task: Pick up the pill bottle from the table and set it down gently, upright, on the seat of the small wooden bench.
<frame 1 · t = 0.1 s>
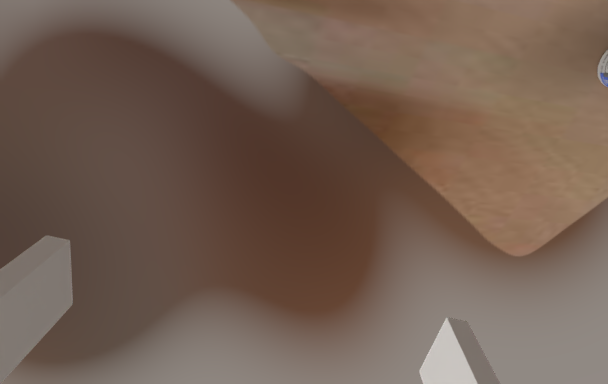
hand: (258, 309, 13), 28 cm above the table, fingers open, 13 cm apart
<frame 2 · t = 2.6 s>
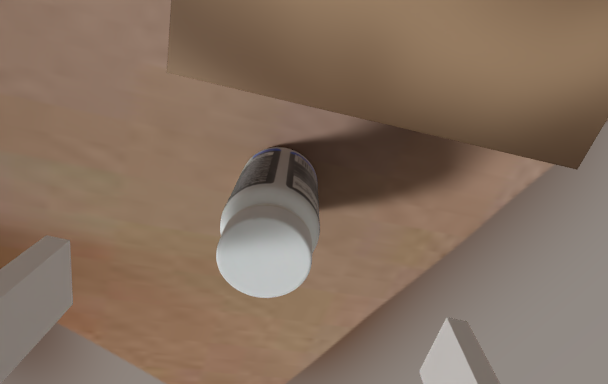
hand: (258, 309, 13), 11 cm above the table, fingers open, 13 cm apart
pill bottle: (280, 180, 22), on the table
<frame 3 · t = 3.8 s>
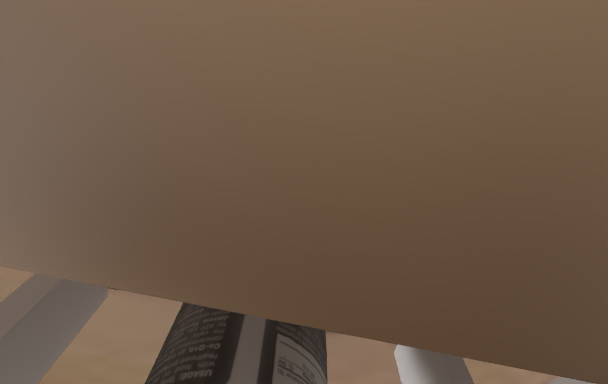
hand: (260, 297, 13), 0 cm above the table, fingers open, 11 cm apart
pill bottle: (261, 287, 13), on the table
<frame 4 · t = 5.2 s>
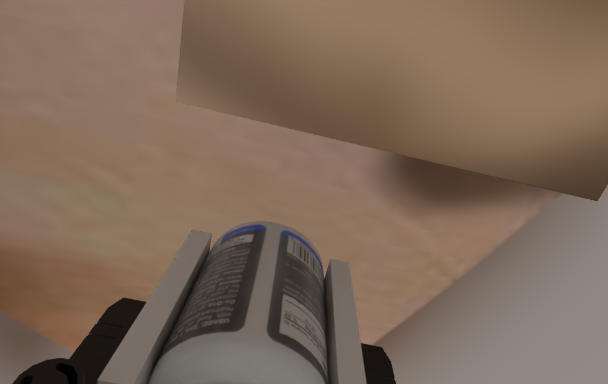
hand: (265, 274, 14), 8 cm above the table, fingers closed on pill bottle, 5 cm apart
pill bottle: (267, 265, 15), point 7 cm above the table, touching gripper
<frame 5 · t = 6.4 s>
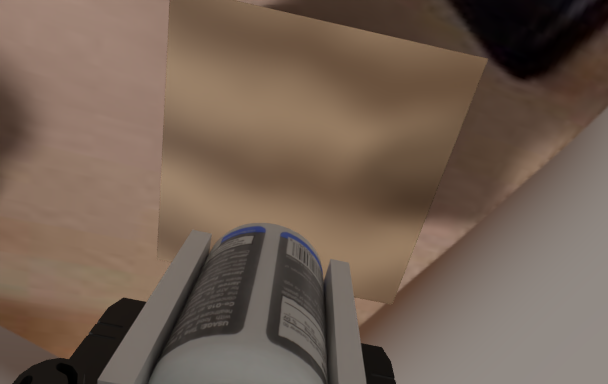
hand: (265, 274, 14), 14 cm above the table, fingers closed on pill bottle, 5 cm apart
small wooden bench: (305, 135, 27), on the table
pill bottle: (267, 266, 15), point 14 cm above the table, touching gripper
when the fingers open (8 cm above the table, at t = 8.0 s): pill bottle stays where it is, resting on small wooden bench.
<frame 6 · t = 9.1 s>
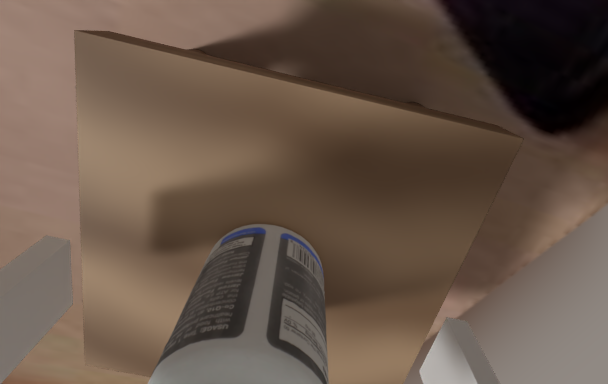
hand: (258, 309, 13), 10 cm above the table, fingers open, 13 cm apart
small wooden bench: (283, 192, 22), on the table
pill bottle: (267, 268, 15), point 8 cm above the table, touching small wooden bench
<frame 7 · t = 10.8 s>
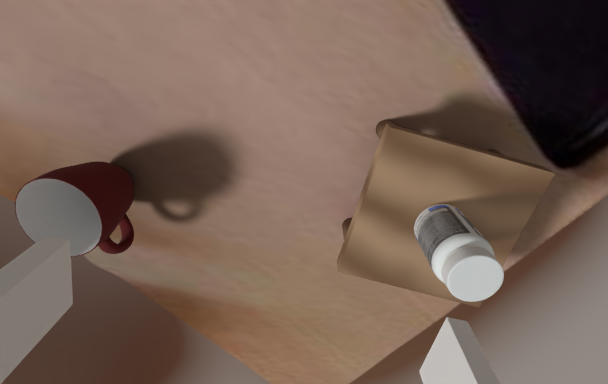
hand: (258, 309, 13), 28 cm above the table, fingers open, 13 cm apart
small wooden bench: (417, 193, 41), on the table
mug: (124, 189, 42), on the table
pill bottle: (438, 224, 33), point 8 cm above the table, touching small wooden bench
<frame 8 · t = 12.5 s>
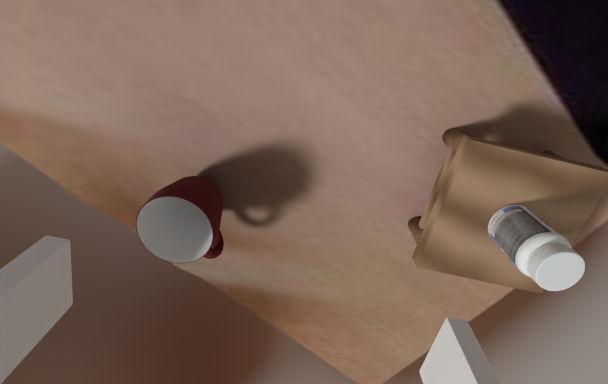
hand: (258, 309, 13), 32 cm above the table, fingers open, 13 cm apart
small wooden bench: (478, 193, 45), on the table
mug: (209, 199, 46), on the table
pill bottle: (509, 222, 37), point 8 cm above the table, touching small wooden bench
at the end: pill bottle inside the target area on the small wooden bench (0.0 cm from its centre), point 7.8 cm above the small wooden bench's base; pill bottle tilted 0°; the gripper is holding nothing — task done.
